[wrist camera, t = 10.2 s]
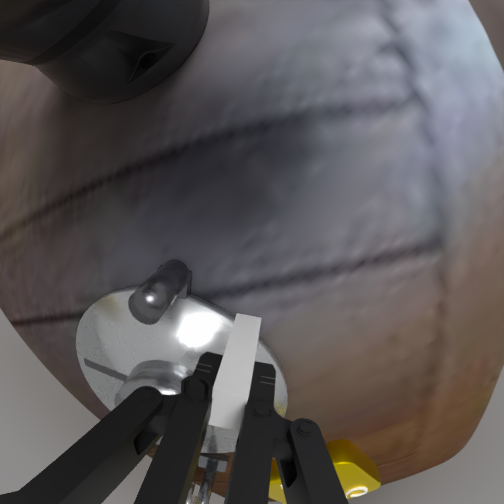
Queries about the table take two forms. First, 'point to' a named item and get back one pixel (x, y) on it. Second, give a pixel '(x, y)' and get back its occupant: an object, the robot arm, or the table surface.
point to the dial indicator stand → (207, 476)
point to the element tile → (339, 471)
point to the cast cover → (157, 382)
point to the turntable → (160, 338)
